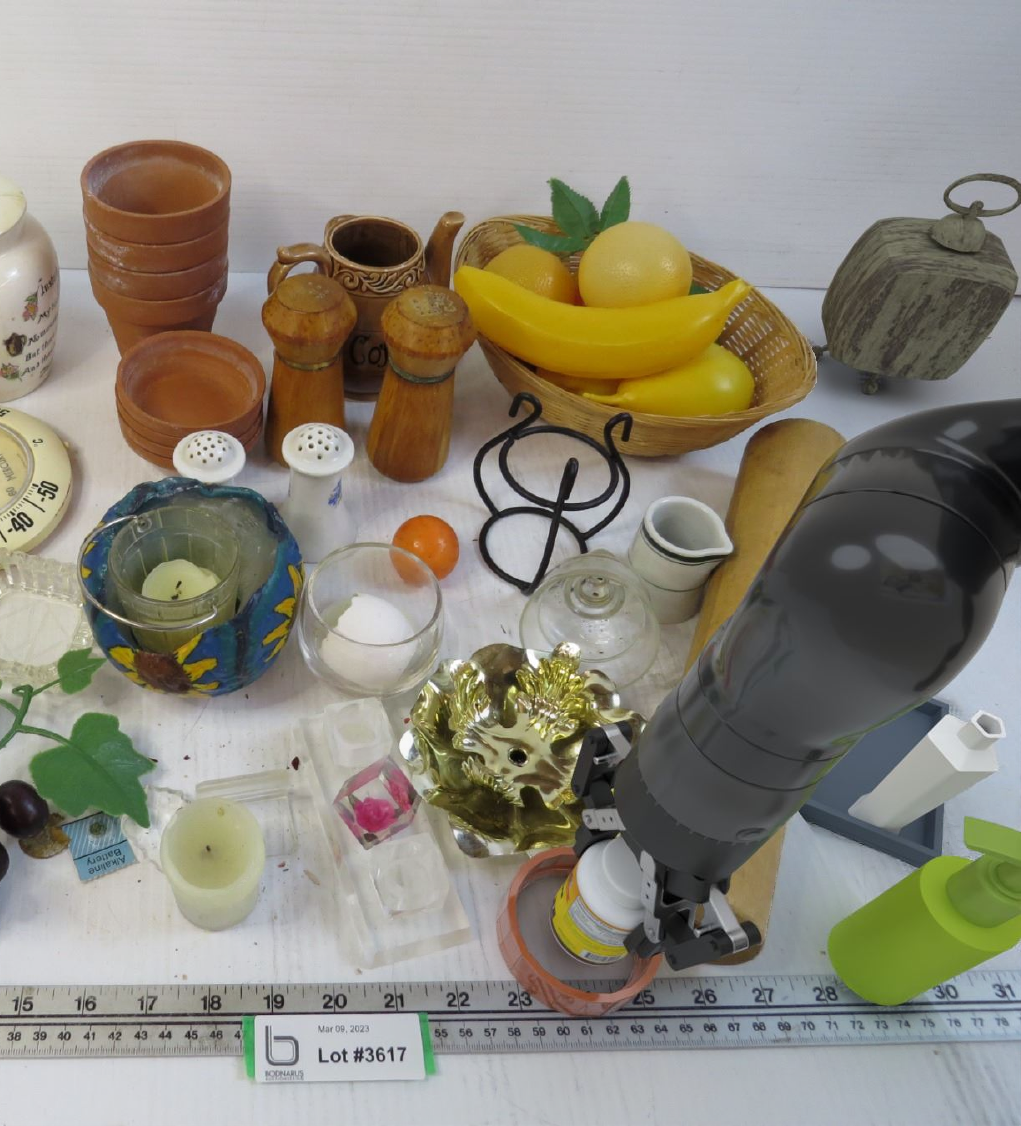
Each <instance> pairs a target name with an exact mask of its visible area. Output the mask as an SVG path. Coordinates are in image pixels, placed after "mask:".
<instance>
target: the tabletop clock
mask: <svg viewBox="0 0 1021 1126" xmlns="http://www.w3.org/2000/svg"><path fill="white" fill-rule="evenodd" d="M977 181H978V182H979V181H980V182H981V181H982V182H983V181H984V182H994V183H1000V184H1003V185H1007V186H1010V187H1011V188H1013V189H1014V190H1015V192H1016V193H1017V200H1016V201H1015V202H1014V204H1012V205H1010V206H1007V207H1003V208H999V209H983V208H984V207H985V204H984V201H981V200H975V201H973V202H972V203H971V204H970V205H969V207H967V206H963V205H960V204H958V203H957V202H954V201H953V200H952V199H951V198H950V194H951V192H952V191H953V190H954V189H955V188H957V187H959V186H962V185H963V184H964V185H965V184H966V183H970V182H971V183H972V182H977ZM943 202H944V204H945V206H946V208H948V209H949V210H951V211H953V212H952V213H949V214H947V215H945V216H943V217H941V218H940V219H939V218H938V219H937V218H926V217H915V216H914V217H913V216H892V217H886V218H882V219H881V218H880V219H877V221H875V222H874V223H873V224H871V225H870V226H869V227H868V228H867V229H866V230H865V231H864V232H863V233H862V234H861V235H860V237H858V239H857V240H856V242H854V244H853V245H852V247H851V248H850V250H849V251H848V253H847V254H846V256H845V257H844V259H843V260H842V262H841V263H840V265H839V266H838V268H837V269H836V270H835V271H836V272H835V273H834V275H833V278H832V280H831V282H830V284H829V286H828V288H827V291H826V292H825V295H824V298H823V301H822V304H821V321H822V326H823V331H824V335H825V336H824V337H825V339H826V344H825V345H823V346H820V345H812V346H811V347H812V350H813V352H814V353H815V356H816V358H817V359H816V360H820V358H821V357H822V356H823V355H824V352H827V351H828V354H829V357H831V358H833V359H834V360H836V361H837V362H839V363H842V364H844V365H846V366H848V367H851V368H853V369H856V370H859V371H865V372H869V373H872V374H871V376H870V379H867V380H865V381H864V382H862V383H861V385H860V388H861V391H862V393H863V394H866V395H872V394H874V393H875V392H877V391H878V389H879V385H878V383H877V382H876V381H877V380H878V378H879V376H880V375H881V376H886V377H887V376H888V377H893V378H902V379H910V380H917V381H928V382H931V381H933V382H935V381H943V380H947V379H949V378H950V377H951V376H953V375H954V374H955V373H957V372H958V371H959V370H960V369H962V367H964V366H965V364H966V363H967V362H968V361H969V360H970V359H971V358H972V357H973V355H974V354H975V353H976V352H977V350H978V349H979V348H980V347H981V345H982V344H983V343H984V342H985V341H986V340H987V338H988V337H989V336H990V335H991V333H992V332H993V331H994V329H995V327H996V326H997V325H998V323H999V321H1000V320H1001V318H1002V317H1003V315H1004V314H1005V312H1006V310H1007V309H1008V308H1009V306H1010V304H1011V302H1012V300H1013V298H1014V296H1015V295H1016V292H1017V288H1018V284H1019V279H1020V278H1019V275H1018V273H1017V271H1016V269H1015V267H1014V264H1013V263H1012V260H1011V258H1010V255H1009V253H1008V251H1007V249H1006V247H1005V245H1004V243H1003V241H1002V238H1001V237H1000V236H998V235H997V234H995V233H993V232H992V231H990V230H988V229H986V227H985V224H984V222H983V220H981V219H980V218H990V217H991V218H992V217H998V216H1002V215H1006V214H1008V213H1010V212H1012V211H1014V210H1016V208H1018V207H1020V206H1021V182H1020V181H1018V180H1017V179H1016V178H1014V177H1011V176H1008V175H1004V174H999V173H993V172H992V173H991V172H989V173H988V172H987V173H986V172H983V173H982V172H980V173H979V172H978V173H974V174H969V175H965V176H963V177H961V178H958V179H957V180H955V181H954V182H953V183H951V184H949V185H948V187H947V188H946V189H945V190H944V192H943Z"/></svg>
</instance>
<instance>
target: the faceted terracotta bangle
mask: <svg viewBox="0 0 1021 1126" xmlns="http://www.w3.org/2000/svg"><path fill="white" fill-rule="evenodd" d="M572 848H573V846H557V847H553V848H548V849H547V850H546V849H545V850H544V851H540V852H538V853H536V854H535V855H534V856H533V857H531V858H530V859H528V860H527V861H526V862H525V863H523V864H522V865H521V866H520V868H519V870H518V871H517V872H516V874H515V876H514V877H513V879H512V880H511V882H510V884H509V885H508V887H507V889H506V890H505V892H504V894H503V895H502V897H501V899H500V901H499V903H498V908H497V909H498V910H497V915H496V920H495V929H496V937H497V943H498V944H497V945H498V948H499V951H500V953H501V956H502V959H503V960H504V962H505V965H506V967H507V969H508V971H509V973H510V974H511V975H512V976H513V978H514V979H515V980H516V982H517V983H518V985H520V986H521V987H522V989H523V990H524V991H525V992H526V993H527V994H528V995H530V996H531V997H532V998H534V999H535V1000H537V1001H538V1002H539V1003H541V1004H542V1005H543V1006H545V1007H546V1008H548V1009H550V1010H553V1011H556V1012H559V1013H562V1014H564V1015H567V1016H571V1017H574V1018H600V1017H603V1016H604V1015H608V1014H611V1013H613V1012H617V1011H619V1010H621V1009H622V1008H623V1007H624V1006H626V1005H627V1004H628V1003H629V1002H630V1001H631V1000H632V999H633V998H635V997H636V996H638V995H639V993H641V991H643V990H644V989H645V988H646V987H647V986H648V985H650V983H652V982H653V980H654V979H655V977H656V975H657V972H658V970H659V968H660V966H661V964H662V962H663V958H664V957H663V956H664V953H661V954H658V955H655V956H652V957H649V958H646V959H640V958H639V956H638V954H637V952H635V953H633V963H632V970H631V971H630V974H629V976H628V978H627V980H626V982H625V984H624V985H623V987H621V988H620V989H619V990H615V991H612V992H610V993H609V992H587V991H584V990H581V989H579V988H575V987H572V986H570V985H567V984H565V983H563V982H562V981H560V980H559V979H558V978H556V977H555V976H553V975H552V974H550V973H549V972H547V971H546V970H545V969H544V968H543V966H541V964H540V963H539V962H538V961H537V960H536V958H535V957H534V956H533V955H532V954H531V952H530V950H529V949H528V947H527V945H526V942H525V940H524V938H523V936H522V934H521V931H520V929H519V927H520V926H519V922H518V921H519V920H518V914H517V903H518V897H519V895H520V893H521V892H522V891H523V890H524V889H527V887H528V886H530V885H531V884H532V883H534V882H537V881H539V880H543V879H546V878H549V877H566V878H568V876H569V875H570V873H571V872H572V870H573V869H574V867H575V866H576V864H577V863H578V861H579V860H580V859H578V858H577V856H576V855H575V853H574V851H573V849H572Z"/></svg>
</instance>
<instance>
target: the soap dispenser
mask: <svg viewBox="0 0 1021 1126" xmlns="http://www.w3.org/2000/svg"><path fill="white" fill-rule="evenodd" d="M963 821H964V823H963V825H964V826H963V843H964V845H965V848H967V849H968V850H970V851H973V852H977V853H980V854H983V855H981V856H979V857H978V858H976V859H974V860H972V859H970V858H967V857H963V856H959V855H952V854H951V855H942V856H940V857H936V858H934V859H932V860H930V861H929V862H927V863H926V864H924V865H923V866H921V867H920V868H918V867H917V869H915V870H914V871H912V872H911V873H909V874H908V875H906V876H905V877H904V878H902V879H900V880H899V881H898V882H897V883H896V882H895V884H893V885H892V886H891V887H889V888H887V889H886V890H885V891H883V892H882V893H880V894H879V895H877V896H876V897H874V898H873V899H872V900H870V901H869V902H867V903H865V904H864V905H863V906H861V907H860V908H858V909H857V910H855V911H854V912H852V913H851V914H850V915H848V916H847V917H845V918H844V919H842V920H840V921H839V922H838V923H837V924H835V925H834V926H833V928H832V929H831V930H830V933H829V935H828V938H827V952H828V957H829V960H830V963H831V965H832V968H833V969H834V971H835V973H836V975H837V976H838V977H839V979H840V980H841V981H842V982H843V983H844V985H845V986H847V987H848V989H850V990H851V992H853V993H855V995H857V996H859V997H860V998H862V999H863V1000H866V1001H868V1002H870V1003H873V1004H876V1005H880V1006H885V1007H886V1006H888V1007H892V1006H898V1005H901V1004H904V1003H905V1002H907V1001H910V1000H911V999H913V998H916V997H917V996H919V995H922V994H923V993H925V992H927V991H929V990H931V989H933V988H935V987H937V986H939V985H941V984H943V983H945V982H947V981H950V980H951V979H954V978H955V977H957V976H959V975H962V974H963V973H965V972H967V971H969V970H971V969H973V968H975V967H977V966H979V965H981V964H984V963H985V962H987V961H989V960H991V959H993V958H995V957H997V956H999V955H1001V954H1003V953H1005V952H1007V951H1009V950H1011V949H1013V948H1014V947H1015V946H1017V944H1019V942H1020V941H1021V831H1019V830H1017V829H1014V828H1011V827H1009V826H1005V825H1002V824H998V823H995V822H991V821H989V820H986V819H985V820H984V819H982V818H981V819H980V818H978V817H977V818H976V817H973V816H969V815H965V816H964V820H963Z"/></svg>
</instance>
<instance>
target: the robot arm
mask: <svg viewBox="0 0 1021 1126" xmlns="http://www.w3.org/2000/svg"><path fill="white" fill-rule="evenodd" d="M1017 568H1021V397H1016V398H1005V399H995V400H984V401H975V402H966V403H965V402H964V403H958V404H952V405H945V406H940V407H935V408H930V409H925V410H921V411H917V412H913V413H910V414H906V415H904V416H900V417H898V418H894V419H892V420H890V421H887V422H884V423H881V424H879V425H876V426H874V427H872V428H870V429H868V430H866V431H864V432H862V433H860V434H859V435H858V434H857V435H856V436H854V437H853V438H851V439H850V440H848V441H847V442H846V443H844V444H843V445H841V446H840V447H838V449H836V450H835V451H834V452H833V453H832V454H831V455H830V456H829V457H828V458H827V459H826V460H825V461H824V463H823V464H821V466H820V468H819V469H818V471H817V473H816V474H815V476H814V478H813V479H812V481H811V482H810V484H809V486H808V487H807V489H806V491H805V492H804V494H803V496H802V498H801V500H800V501H799V502H798V503H797V506H796V508H795V510H794V511H793V513H792V514H791V516H790V518H789V519H788V521H787V523H786V524H785V526H784V527H783V529H782V531H781V532H780V533H779V536H778V538H776V540H775V542H774V544H773V545H772V548H771V549H770V551H769V552H768V554H767V556H766V558H765V559H764V560H763V562H762V564H761V565H760V568H759V569H758V571H757V572H756V574H755V577H754V578H753V579H752V581H751V583H750V585H749V586H748V588H747V590H746V592H745V594H744V595H743V597H742V598H741V600H740V602H739V604H738V605H737V608H736V609H735V610H734V612H733V614H730V616H729V617H728V618H726V619H725V620H724V622H723V623H722V624H721V625H720V626H719V627H718V628H717V629H716V630H715V632H714V633H713V635H712V636H711V637H710V639H709V640H708V641H707V643H706V644H705V646H704V647H703V648H702V650H701V651H700V653H699V654H698V656H697V658H696V659H695V660H694V662H693V663H692V665H691V666H690V668H689V670H688V671H687V673H686V674H685V675H684V677H683V678H682V680H681V681H680V682H679V683H677V685H676V686H674V688H672V689H671V690H670V692H669V693H668V694H667V695H665V696H664V698H663V699H662V701H660V704H658V706H657V707H656V709H655V712H654V713H653V714H652V716H651V717H650V718H649V720H648V722H647V724H646V725H645V727H644V728H643V730H642V731H641V733H639V735H638V737H637V739H636V740H635V742H634V744H633V745H631V743H632V740H633V736H634V732H633V729H632V726H631V724H630V723H629V722H628V720H625V719H622V720H619V721H616V722H611V723H606V724H603V725H599V726H597V727H593V728H590V729H587V730H585V732H584V736H583V739H582V741H581V745H580V749H579V751H578V756H577V758H576V763H575V766H574V770H573V771H572V772H573V773H572V776H571V779H570V790H571V792H572V794H573V796H574V797H575V798H576V799H578V800H580V799H582V800H583V802H584V805H585V809H583V810H582V811H581V817H582V818H581V819H582V820H581V822H580V824H579V825H578V827H577V829H576V830H575V832H574V840H575V841H576V842H575V843H574V845H573V846H572V847H573V848H572V849H573V851H574V853H575V855H576V856H577V858H578V859H580V858H581V857H582V855H583V854H584V853H585V852H586V850H587V849H588V848H590V847H591V846H592V845H594V844H595V843H598V842H600V841H603V840H608V839H615V838H617V836H618V835H619V834H620V836H622V837H623V839H624V841H625V843H626V844H627V846H628V847H629V848H630V849H631V851H632V852H633V853H634V855H635V857H636V859H637V862H638V864H639V866H640V869H641V871H642V880H641V889H640V898H639V901H640V902H641V904H642V905H643V906H644V907H645V908H646V909H645V917H644V922H642V923H640V924H639V925H638V926H637V927H636V928H635V929H634V931H633V932H632V933H631V934H630V935H629V936H628V937H627V938H626V939H625V940H624V941H623V944H624V946H625V948H626V950H627V952H628V954H627V955H632V954H634V953H635V952H637V954H638V956H639V958H640V959H646V958H649V957H652V956H655V955H658V954H661V953H663V954H664V957H665V961H666V962H667V964H668V966H669V967H670V969H671V970H672V971H674V972H678V971H681V970H682V971H683V970H686V969H689V968H691V967H695V966H699V965H702V964H705V963H708V962H711V961H716V960H719V959H721V958H724V957H727V956H730V955H733V954H736V953H740V952H741V951H745V950H748V949H750V948H752V947H756V946H758V945H761V943H762V939H763V938H762V934H761V932H760V929H759V928H758V927H757V925H756V924H755V923H754V922H753V921H752V920H744V921H741V922H739V921H738V919H737V917H736V914H735V913H734V911H733V909H732V907H731V904H730V903H729V901H728V899H727V897H726V896H727V894H728V893H729V892H730V888H731V879H732V875H733V874H734V873H735V872H736V871H738V869H739V868H741V867H743V865H744V864H746V862H747V861H749V859H751V858H752V857H753V856H754V855H755V854H756V853H757V852H758V851H759V850H760V849H761V848H762V847H763V846H764V845H765V844H766V843H767V842H768V841H770V839H771V838H772V837H773V836H774V835H775V834H776V833H777V832H778V831H779V830H780V829H781V828H783V826H784V825H785V824H787V822H788V821H790V820H791V819H792V817H794V815H796V814H797V813H798V812H799V810H800V809H801V807H802V806H803V805H804V804H805V803H806V802H807V801H808V800H809V798H810V797H811V796H812V794H813V793H814V791H815V790H816V788H817V786H818V785H819V783H820V781H821V780H822V778H823V777H824V776H825V775H826V774H827V773H828V772H829V771H830V770H831V769H832V768H833V767H834V766H835V765H836V764H837V763H838V762H839V761H840V760H841V759H842V758H843V757H844V756H845V755H846V754H847V753H848V752H849V751H850V750H851V749H852V748H853V747H854V746H855V745H856V744H857V743H858V742H859V741H860V740H861V739H862V737H863V736H864V735H865V734H866V733H867V732H870V731H872V730H875V729H877V728H879V727H881V726H884V725H885V724H887V723H889V722H891V721H893V720H895V719H896V718H898V717H900V716H902V715H904V714H906V713H908V712H909V711H911V710H913V709H915V708H917V707H918V706H920V705H922V704H923V703H925V702H927V701H928V700H930V699H931V698H934V697H936V696H937V695H938V694H939V693H941V692H942V691H943V690H944V689H945V688H946V687H948V685H949V684H951V682H953V681H954V680H955V679H956V678H957V676H958V675H959V674H960V673H961V672H962V671H963V670H964V669H965V668H966V667H967V666H968V665H969V663H970V662H971V661H972V660H973V659H974V657H975V656H976V655H977V654H978V652H979V651H980V649H981V648H982V647H983V645H984V644H985V642H986V641H987V639H988V637H989V636H990V634H991V633H992V630H993V628H994V625H995V624H996V621H997V619H998V616H999V613H1000V611H1001V608H1002V605H1003V602H1004V598H1005V597H1006V593H1007V591H1008V589H1009V586H1010V583H1011V580H1012V578H1013V574H1014V572H1015V570H1016V569H1017ZM700 905H701V906H702V908H703V916H702V917H701V918H700V926H698V927H695V922H696V916H697V910H698V907H699V906H700Z"/></svg>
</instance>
